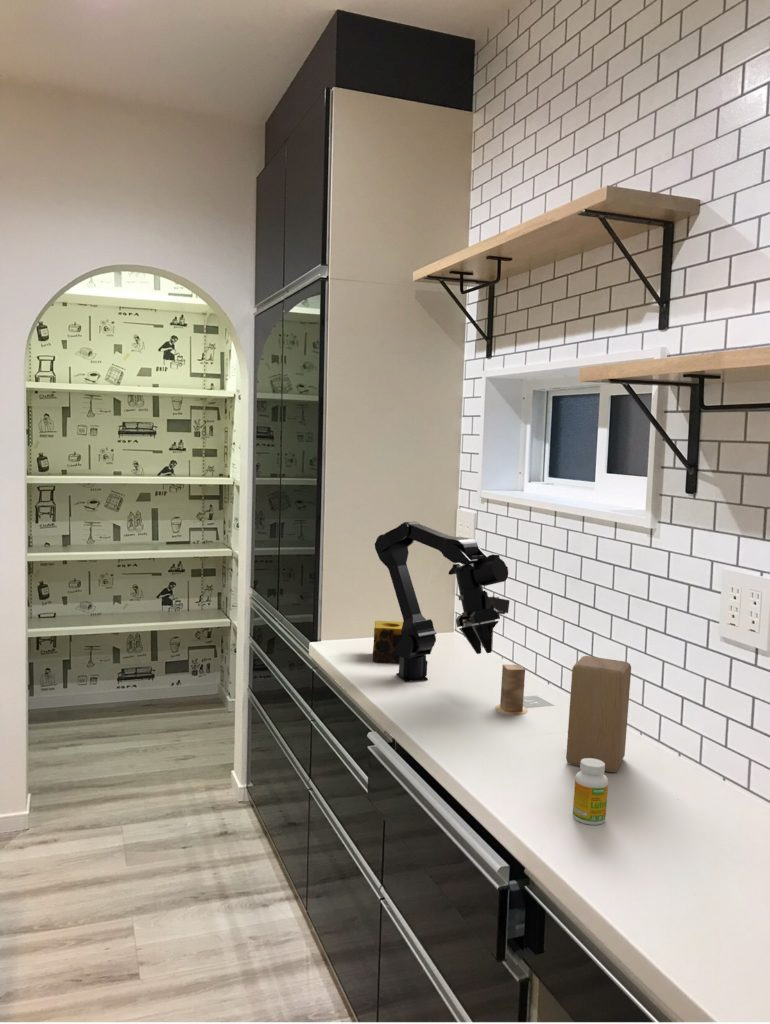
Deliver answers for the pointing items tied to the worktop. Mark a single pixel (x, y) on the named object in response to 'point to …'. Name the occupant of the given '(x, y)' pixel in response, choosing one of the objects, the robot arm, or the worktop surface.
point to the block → (598, 711)
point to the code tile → (535, 702)
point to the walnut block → (512, 688)
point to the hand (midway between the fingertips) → (484, 653)
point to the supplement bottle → (590, 792)
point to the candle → (386, 641)
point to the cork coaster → (510, 712)
